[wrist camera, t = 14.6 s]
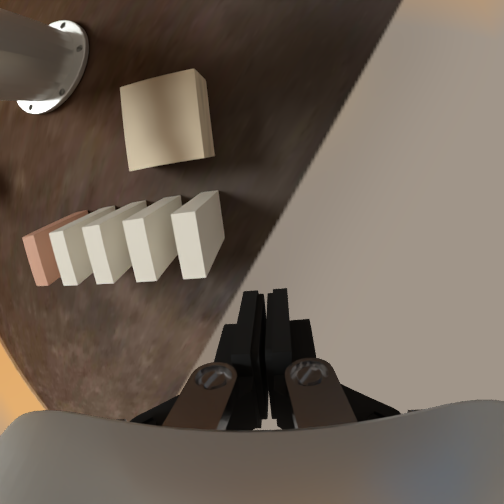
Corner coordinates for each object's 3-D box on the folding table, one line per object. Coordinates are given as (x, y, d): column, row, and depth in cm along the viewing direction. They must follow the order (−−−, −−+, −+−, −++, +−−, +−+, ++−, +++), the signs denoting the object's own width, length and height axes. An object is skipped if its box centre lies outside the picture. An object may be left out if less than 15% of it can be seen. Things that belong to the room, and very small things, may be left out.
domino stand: (149, 166, 29) (129, 171, 25) (141, 94, 27) (119, 87, 22) (214, 156, 29) (204, 157, 24) (206, 80, 26) (194, 68, 22)
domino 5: (208, 239, 32) (183, 279, 22) (201, 192, 30) (170, 214, 21) (224, 237, 32) (206, 277, 22) (218, 190, 30) (195, 211, 21)
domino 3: (140, 246, 33) (96, 284, 23) (131, 202, 31) (81, 227, 22) (154, 244, 32) (113, 283, 23) (145, 200, 31) (98, 224, 21)
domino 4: (172, 242, 32) (136, 282, 23) (164, 197, 31) (122, 221, 21) (188, 241, 32) (156, 280, 23) (180, 195, 30) (143, 218, 21)
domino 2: (110, 249, 33) (63, 285, 24) (101, 208, 31) (48, 233, 22) (123, 247, 33) (77, 285, 23) (114, 205, 31) (62, 230, 22)
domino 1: (85, 251, 33) (36, 286, 24) (76, 212, 32) (22, 237, 22) (96, 250, 33) (48, 285, 24) (87, 210, 31) (33, 235, 22)
